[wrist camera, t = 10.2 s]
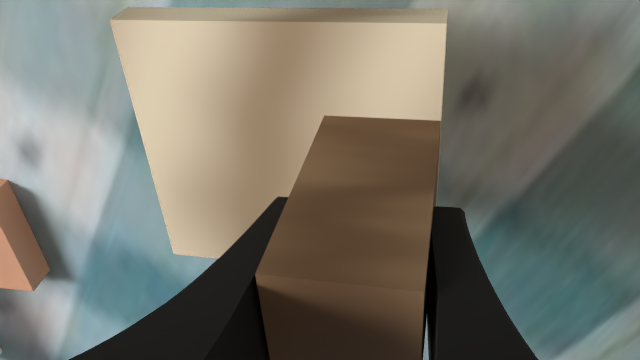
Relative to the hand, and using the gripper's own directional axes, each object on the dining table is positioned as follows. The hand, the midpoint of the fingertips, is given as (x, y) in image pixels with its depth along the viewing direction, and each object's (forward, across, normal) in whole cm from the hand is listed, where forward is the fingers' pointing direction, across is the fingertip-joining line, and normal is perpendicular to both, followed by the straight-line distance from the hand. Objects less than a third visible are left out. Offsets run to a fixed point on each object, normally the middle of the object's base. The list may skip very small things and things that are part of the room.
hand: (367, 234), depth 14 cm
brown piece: (+4, +3, 0) cm, 5 cm away
